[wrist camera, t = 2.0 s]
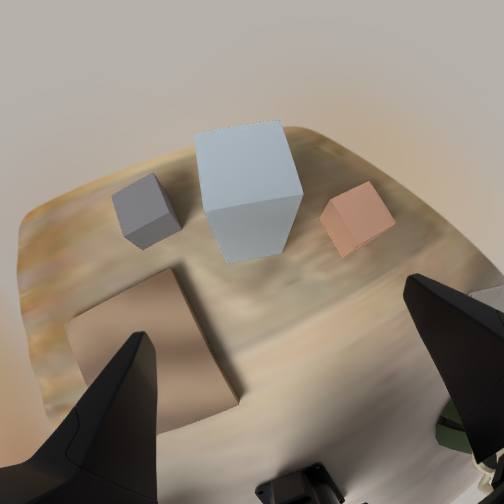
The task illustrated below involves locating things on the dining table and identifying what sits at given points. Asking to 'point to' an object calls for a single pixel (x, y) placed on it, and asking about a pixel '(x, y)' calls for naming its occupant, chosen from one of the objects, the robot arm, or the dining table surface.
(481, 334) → the robot arm
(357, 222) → the terracotta block
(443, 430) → the character mug
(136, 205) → the charcoal block
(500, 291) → the skincare box
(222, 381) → the walnut board
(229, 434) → the dining table surface
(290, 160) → the slate block
